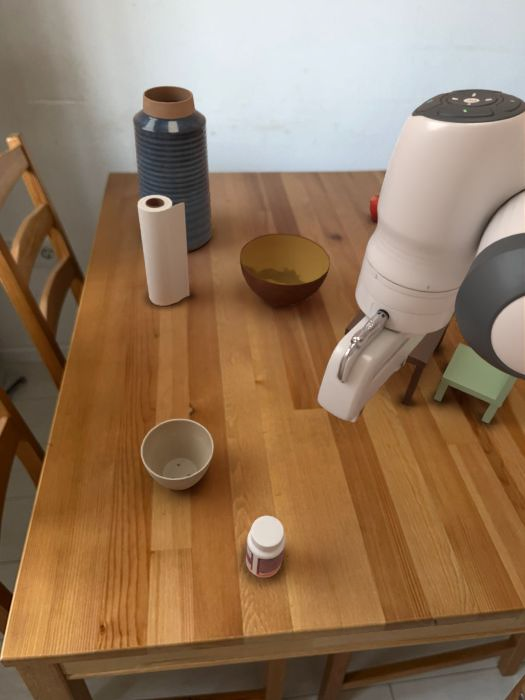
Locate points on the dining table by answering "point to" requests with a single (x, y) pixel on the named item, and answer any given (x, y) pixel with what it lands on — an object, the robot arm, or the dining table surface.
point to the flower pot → (177, 453)
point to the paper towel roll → (164, 249)
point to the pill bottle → (265, 546)
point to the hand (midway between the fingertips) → (373, 389)
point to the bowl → (284, 268)
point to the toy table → (413, 353)
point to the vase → (175, 156)
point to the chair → (476, 379)
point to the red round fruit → (374, 207)
